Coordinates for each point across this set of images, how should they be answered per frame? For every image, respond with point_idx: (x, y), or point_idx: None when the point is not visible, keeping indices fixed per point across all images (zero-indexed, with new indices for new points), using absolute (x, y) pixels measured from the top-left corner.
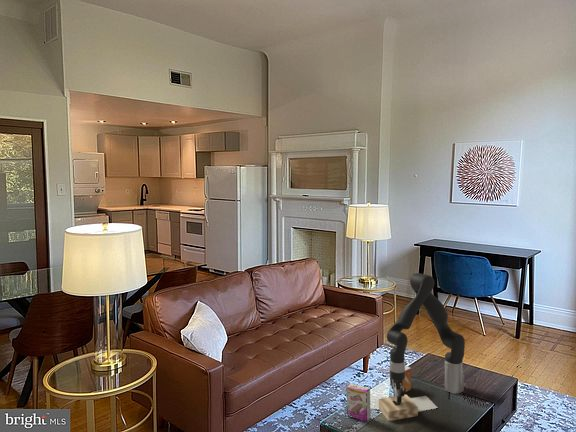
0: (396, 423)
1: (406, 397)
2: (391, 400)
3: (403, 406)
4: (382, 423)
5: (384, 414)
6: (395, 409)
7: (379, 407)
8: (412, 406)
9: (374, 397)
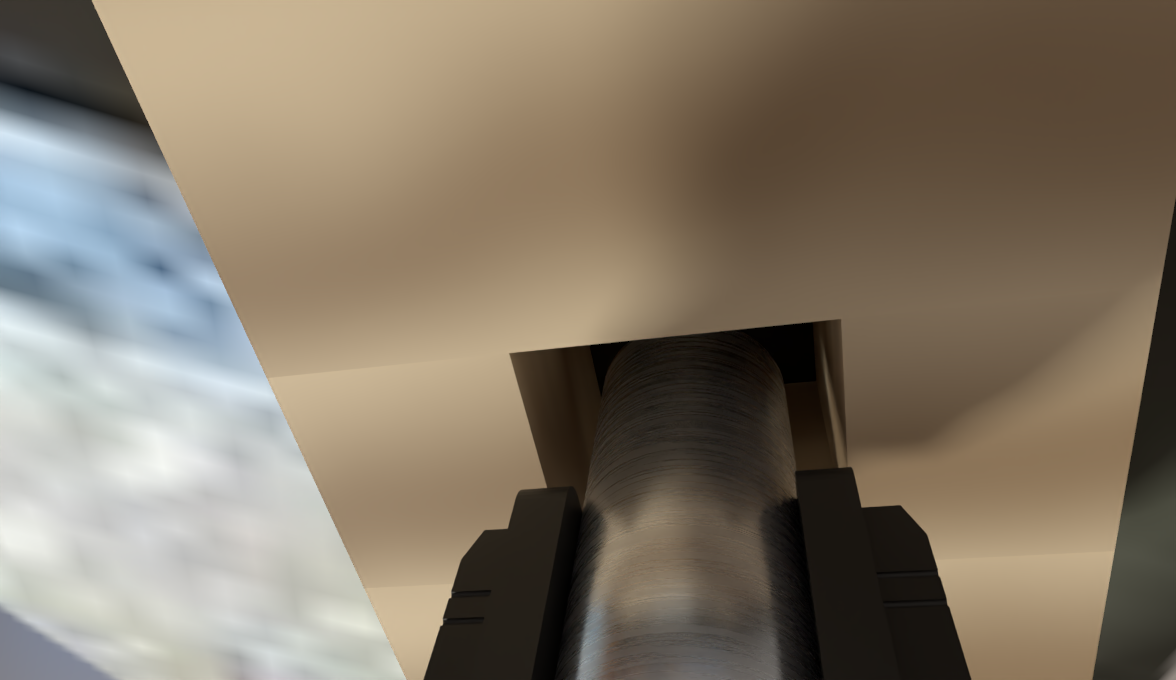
0: (1147, 461)
1: (342, 55)
2: None
3: (974, 373)
4: None
5: None
6: (1044, 621)
7: None
8: (1115, 19)
9: (129, 557)
